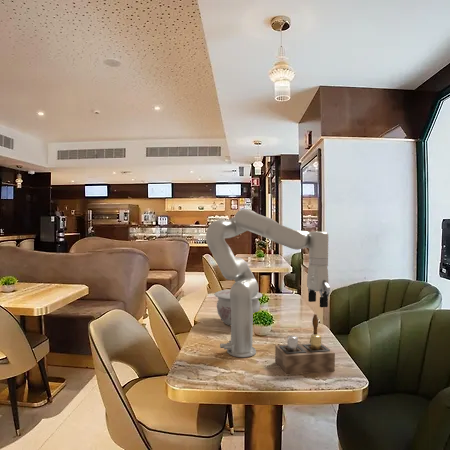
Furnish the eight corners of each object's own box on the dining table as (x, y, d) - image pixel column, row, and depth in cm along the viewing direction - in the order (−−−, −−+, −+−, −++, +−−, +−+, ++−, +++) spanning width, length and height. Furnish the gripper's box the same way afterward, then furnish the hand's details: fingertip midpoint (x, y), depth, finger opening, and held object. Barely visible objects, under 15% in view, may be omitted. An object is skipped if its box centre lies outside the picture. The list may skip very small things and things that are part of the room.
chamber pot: (264, 331, 185) (265, 292, 185) (212, 330, 186) (213, 291, 186) (260, 317, 213) (260, 283, 213) (215, 316, 214) (215, 282, 214)
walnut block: (285, 374, 132) (286, 355, 132) (275, 362, 144) (275, 344, 144) (334, 370, 136) (334, 352, 136) (320, 359, 148) (320, 341, 148)
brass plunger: (313, 355, 139) (313, 337, 139) (309, 351, 143) (309, 334, 143) (322, 354, 140) (323, 337, 140) (318, 351, 144) (318, 334, 144)
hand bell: (321, 354, 154) (322, 317, 154) (303, 350, 158) (303, 315, 158) (327, 348, 161) (327, 313, 161) (309, 345, 165) (309, 311, 165)
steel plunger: (289, 356, 137) (289, 339, 137) (285, 353, 141) (286, 335, 141) (299, 356, 138) (299, 338, 138) (295, 352, 142) (295, 335, 142)
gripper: (300, 259, 150) (299, 299, 150) (320, 264, 133) (319, 309, 133) (316, 259, 151) (316, 299, 151) (338, 264, 134) (337, 309, 135)
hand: (317, 304), depth 142 cm, fingers open, 9 cm apart
